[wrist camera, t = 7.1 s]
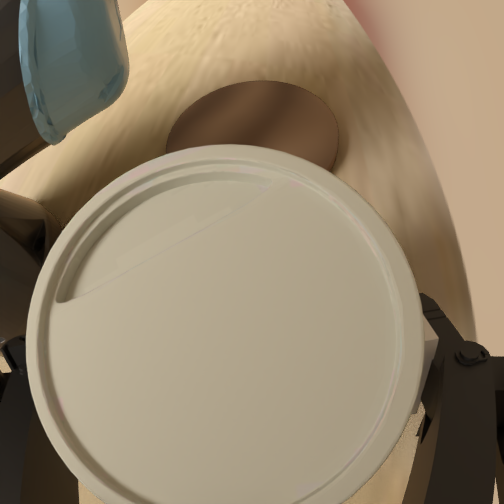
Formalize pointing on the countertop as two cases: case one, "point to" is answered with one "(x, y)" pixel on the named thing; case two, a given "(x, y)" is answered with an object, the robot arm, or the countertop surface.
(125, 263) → the coffee cup
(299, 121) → the walnut trivet
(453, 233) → the countertop surface
